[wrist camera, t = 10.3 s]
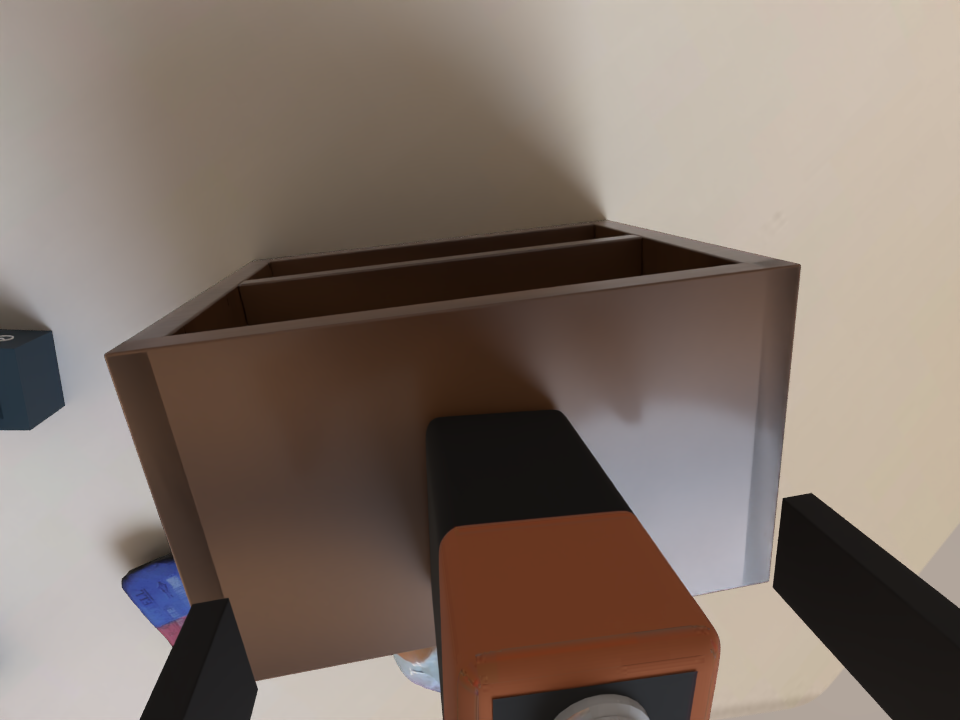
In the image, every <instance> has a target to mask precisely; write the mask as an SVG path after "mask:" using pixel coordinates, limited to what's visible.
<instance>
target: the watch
mask: <svg viewBox="0 0 960 720" xmlns="http://www.w3.org/2000/svg"><path fill="white" fill-rule="evenodd" d="M64 406H65V404H64V398H63V392H62V386H61V381H60V375H59V369H58V363H57V357H56V352H55V346H54V340H53V334H52V331H35V330H2V329H0V430H31V429H33V428H34V427H36V426H37V425H38V424H40V423H41V422H43V421H44V420H45V419H47V418H48V417H50V416H51V415H52V414H54V413H55V412H57V411H58V410H59V409H61V408H62V407H64Z"/></svg>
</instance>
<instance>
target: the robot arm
mask: <svg viewBox="0 0 960 720" xmlns="http://www.w3.org/2000/svg"><path fill="white" fill-rule="evenodd" d="M773 588H774V589H775V590H776V592H777V593H778V594H779V595H780V596H781V597H782V598H783V599H784V600H785V602H786V603H787V604H788V605H789V606H790V607H791V608H792V609H793V610H794V611H795V613H796V614H797V615H798V616H799V617H800V618H801V619H802V620H803V621H804V623H805V624H806V625H807V626H808V627H809V628H810V629H811V630H812V631H813V632H814V634H815V635H816V636H817V637H818V638H819V639H820V640H821V641H822V642H823V644H824V645H825V646H826V647H827V648H828V649H829V650H830V651H831V652H832V653H833V655H834V656H835V657H836V658H837V659H838V660H839V661H840V662H841V663H842V665H843V666H844V667H845V668H846V669H847V670H848V671H849V672H850V673H851V675H852V676H853V677H854V678H855V679H856V680H857V681H858V682H859V683H860V684H861V685H862V687H863V688H864V689H865V690H866V691H867V692H868V693H869V694H870V695H871V697H872V698H873V699H874V700H875V701H876V702H877V703H878V704H879V705H880V707H881V708H882V709H883V710H884V711H885V712H886V713H887V714H888V715H889V716H890V718H891V719H892V720H960V608H958V607H957V606H956V605H954V604H953V603H952V602H950V601H949V600H948V599H947V598H946V597H944V596H943V595H942V594H940V593H939V592H938V591H937V590H935V589H934V588H933V587H931V586H930V585H929V584H928V583H926V582H925V581H924V580H923V579H921V578H920V577H919V576H917V575H916V574H915V573H914V572H912V571H911V570H910V569H908V568H907V567H906V566H905V565H903V564H902V563H901V562H899V561H898V560H897V559H896V558H894V557H893V556H892V555H890V554H889V553H888V552H887V551H885V550H884V549H883V548H881V547H880V546H879V545H878V544H876V543H875V542H874V541H872V540H871V539H870V538H869V537H867V536H866V535H865V534H863V533H862V532H861V531H860V530H858V529H857V528H856V527H854V526H853V525H852V524H851V523H849V522H848V521H847V520H845V519H844V518H843V517H842V516H840V515H839V514H838V513H836V512H835V511H834V510H833V509H831V508H830V507H829V506H828V505H826V504H825V503H824V502H822V501H821V500H820V499H819V498H817V497H816V496H815V495H813V494H812V493H809V494H804V495H798V496H792V497H787V498H783V501H782V510H781V519H780V528H779V537H778V546H777V554H776V563H775V572H774V581H773ZM257 691H258V688H257V685H256V682H255V679H254V676H253V673H252V669H251V666H250V663H249V660H248V657H247V654H246V651H245V647H244V644H243V641H242V638H241V635H240V632H239V629H238V625H237V622H236V619H235V616H234V613H233V610H232V607H231V603H230V600H229V598H224V599H218V600H213V601H207V602H202V603H196V604H192V606H191V608H190V610H189V612H188V615H187V617H186V619H185V621H184V623H183V626H182V628H181V630H180V632H179V634H178V637H177V639H176V641H175V643H174V645H173V648H172V650H171V652H170V654H169V656H168V659H167V661H166V663H165V665H164V667H163V669H162V672H161V674H160V676H159V678H158V680H157V683H156V685H155V687H154V689H153V691H152V694H151V696H150V698H149V700H148V702H147V705H146V707H145V709H144V711H143V713H142V716H141V718H140V720H250V718H251V714H252V710H253V707H254V703H255V699H256V695H257Z"/></svg>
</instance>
